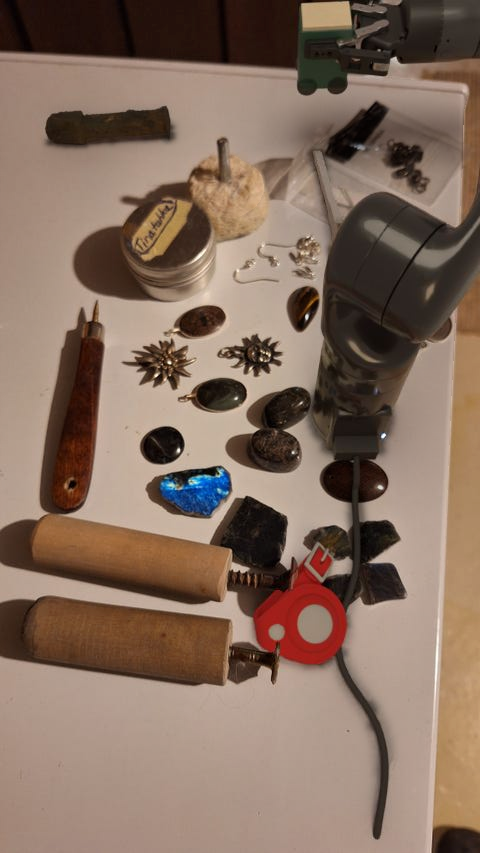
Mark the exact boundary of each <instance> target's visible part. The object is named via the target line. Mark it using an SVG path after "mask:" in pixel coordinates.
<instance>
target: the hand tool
mask: <svg viewBox="0 0 480 853" xmlns="http://www.w3.org/2000/svg"><path fill="white" fill-rule="evenodd" d="M171 125H172V124H171V116H170V112H169V108H168V106H167V105H163V106H160V107H159V108H155V109H141V110H139V109H137V110H136V109H127V110H125V111H120V112H105V113H91V114H90V113H89V114H88V113H86V114H84V113H83V111H82V110H81V109H79V110H71V111H70V110H69V111H68V110H65V111H58V112H53V113H51V114H50V115H49V116H48V117H47V119H46V121H45V127H44V130H45V134H46V137H47V140H49V141H51V142H57V143H62V144H78V145H84V144H86V143H87V141H90V140H97V139H99V140H100V139H101V140H102V139H103V140H104V139H115V138H130V137H132V138H133V137H146V136H156V135H157V136H159V135H164V136H165V137H166V138H167V139H170V138H171Z"/></svg>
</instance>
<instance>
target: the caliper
mask: <svg viewBox="0 0 480 853" xmlns="http://www.w3.org/2000/svg"><path fill="white" fill-rule="evenodd" d="M312 153H313V158H314V165H315V169H316V172H317V173H316V174H317V177H318V180H319V184H320V188H321V190H322V195H323V198H324V202H325V205H326V209H327V219H328V223H329V226H330V227H331V243H332V242H333V240H334V237H335V235H336V233H337V231H338V229H339V227H340V225H341V223H342V222H343V220H344V218H345V217H344V215H341V212H340V209H339V205H338V202H337V200H336V197H335V194H334V191H333V186H332V184H331V181H330V177H329V173H328V170H327V167H326V163H325V159H324V156H323V153H322V151H321V150H313V151H312Z"/></svg>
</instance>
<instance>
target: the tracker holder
mask: <svg viewBox="0 0 480 853" xmlns="http://www.w3.org/2000/svg"><path fill="white" fill-rule="evenodd" d="M329 551H330V549H329V548H325V547H324V546H323V545H322V544H321V543H320V542H319V541H316V542H315V543H314V546H313V547H312V549H311V551H310V552H309V553H308V554H307V556H306V557H305V558H304V559H303V560H302V562H301V563H300V564H299V565H298V567H297V568H298V577H297V579H296V580H295V582H294V584H293V589H291V590H290V591H288V589H287V590H286V591H285V592H284V593H283V592H282V591H280V590H276V589H275V590H274V592H272V593H271V594H270V595H269V596H268V597H267V598H266V599H265V600H264V601H263V602H262V603H261V604H259V606H258V607H257V608H256V610H255V611H254V613H253V615H252V619H253V620H252V621H253V627H254V633H255V638H256V642H257V644H258V645H259V647H260V648H262V650H265V651H267V652H268V653H270V654H273V653H272V652H274V651H275V648H276V643H277V642H280V653H279V655H278V656H279V657H281V658H283V659H286V660H288V661H290V662H295V663H298V664H302V665H309V666H313V665H314V666H315V665H319V664H323V663H325V662H327V661H329V660H331V659H332V658H333V657H334V656H336V655H335V654H336V653H337V651H338V649H339V648H340V647H342V645H343V644H344V642H345V639H346V636H347V630H348V629H347V628H348V620H347V613H346V614H345V610H344V608H343V605H342V601H341V600H340V598H339V597H338V596H337V595H336V593H335V592H333V591H332V590H330V588H328V587H325V586H323V585H322V584H323V583H324V582H325V580H326V578H327V576H328V574H329V572H330V571H331V568H332V567H333V565H334V562H335V557H333V556H332V554H331V553H330V552H329Z"/></svg>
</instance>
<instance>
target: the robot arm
mask: <svg viewBox="0 0 480 853" xmlns="http://www.w3.org/2000/svg"><path fill="white" fill-rule="evenodd" d="M343 1H349V4H350V3H352V4H351V5H350V8H351V16H352V25H353V35H352V36H351V37H343V38H339V39H337V41H336V42H335V38H324V39H308V40H306V41H305V51H304V53H305V58H306V59H312V60H318V59H319V60H321V59H322V60H323V59H335V61H336V62H337V63H339V64H340V65H341V68H340V70H341V71H342V72H347V73H348V74H356V75H366V76H375V77H387V76H388V74H389V69H390V65H391V59H393V58H396V60H397V63H399V64H400V65H415V64H416V65H417V64H418V65H419V64H438V63H439V64H442V63H454V62H455V63H456V62H459V61H466V60H467V61H468V60H480V0H401V1H400V2H399V3H398V4H390V3H386V2H383V0H336V2H343ZM351 45H352V48H348V46H351ZM352 60H353V62H352ZM358 61H360V63H355V62H358ZM477 174H478V175H477V182H476V187H475V191H474V192H475V193H474V196H473V200H472V203H471V205H470V208H469V210H468V212H467V213H466V216H464V219H463V220H462V221H461V223H459V225H457V226H453V225H451V224H449V223H447V222H446V221H444V220H442V219H441V218H438V217H437V216H435V215H433V214H431V213H429V212H427V211H426V210H424V209H422V208H421V207H418V206H416V205H414V204H413V203H411V202H409V201H408V200H405V199H404V198H402V197H400V196H398V195H396V194H394V193H391V192H389V191H375V192H372V193H369V194H368V195H366V196H365V197H363V198H361V199H360V200H359V201H357V203H356V204H355V205H354V206H353V207H351V209H350V210H349V212H348V213H347V214H346V215H345V217H343V218H344V220H343V222H342V223H341V225H340V227H339V229H338V231H337V233H336V235H335V237H334V240H333V242H332V241H331V245H330V248H329V250H328V254H327V258H326V262H325V266H324V272H323V281H322V293H321V295H322V296H321V313H320V314H321V315H320V332H321V335H322V337H323V339H322V345H321V350H320V356H319V362H318V368H317V374H316V380H315V387H314V393H313V398H312V402H311V407H310V418H311V422H312V425H313V427H314V429H315V431H316V432H317V433H318V435H319V436H320V437H321V438H322V439H323V440H324V441H325V448H326V449H328V450H332V455H333V461H352V474H353V476H352V477H353V478H352V487H351V514H352V530H353V531H352V532H353V555H352V556H353V558H352V568H351V575H350V578H349V581H348V582H349V583H348V585H347V589H346V592H345V594H344V597H343V600H342V601H341V603H342V605H343V608H344V610H345V614H346V615H347V612H348V609H349V606H350V603H351V600H352V598H353V595H354V592H355V590H356V586H357V584H358V578H359V574H360V568H361V567H360V566H361V526H360V525H361V524H360V513H359V512H360V511H359V510H360V509H359V489H360V488H359V487H360V483H361V464H360V461H376V459H377V457H378V455H379V454H380V444H381V442H382V439H384V438H385V437H386V431H387V428H388V427H389V424H390V421H391V419H392V417H393V411H394V409H395V406H396V404H397V403H398V400H399V397H400V395H401V392H403V391H402V390H403V388H404V385H405V383H406V381H407V380H408V377H409V374H410V373H411V370H412V368H413V366H414V364H415V362H416V359H417V357H418V356H419V352H420V350H421V348H422V344H423V342H426V341H427V340H428V339H430V338H431V337H433V336H434V335H435V333H437V332H438V331H439V330H440V329H441V328H442V327H443V325H444V324H445V323H446V322H447V321H448V320H449V318H451V316H452V315H453V313H454V312H455V310H456V309H457V308H458V306H459V305H460V303H461V302H462V300H463V299H464V297H465V296H466V295H467V293H468V291H469V290H470V288H471V287H472V285H473V284H474V282H475V281H476V279H477V278H478V276H479V275H480V165H479V167H478V173H477ZM342 649H343V648H342V646H341V647H340V648H339V649H338V651H337V653H336V654H335V655H334V656H335V660H336V663H337V666H338V670H339V672H340V674H341V677H342V678H343V680H344V682H345V684H346V685H347V687H348V688H349V690H350V691H351V693H352V694H353V696H354V697H355V699H356V700H357V701H358V703H359V705H360V706H361V708H362V709H363V711H364V712H365V714H366V716H367V717H368V719H369V721H370V723H371V725H372V727H373V730H374V732H375V735H376V740H377V743H378V748H379V755H380V781H379V790H378V798H377V804H376V809H375V815H374V821H373V829H372V837H373V839H374V840H376V841H378V840H380V838H381V836H382V830H383V823H384V816H385V811H386V804H387V798H388V790H389V779H390V777H389V776H390V762H389V752H388V751H389V750H388V746H387V741H386V736H385V733H384V731H383V728H382V725H381V722H380V720H379V718H378V716H377V715H376V712H375V711H374V710H373V708H372V706H371V705H370V703H369V702H368V700H367V699H366V697H365V696H364V694H363V693H362V692H361V690H360V689H359V687H358V686H357V684H356V682H355V681H354V680H353V678H352V676H351V674H350V672H349V671H348V668H347V665H346V662H345V659H344V655H343V650H342Z"/></svg>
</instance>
